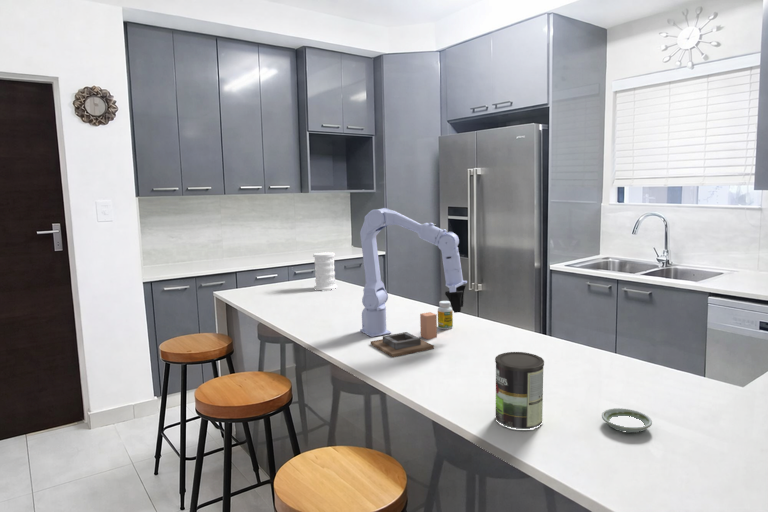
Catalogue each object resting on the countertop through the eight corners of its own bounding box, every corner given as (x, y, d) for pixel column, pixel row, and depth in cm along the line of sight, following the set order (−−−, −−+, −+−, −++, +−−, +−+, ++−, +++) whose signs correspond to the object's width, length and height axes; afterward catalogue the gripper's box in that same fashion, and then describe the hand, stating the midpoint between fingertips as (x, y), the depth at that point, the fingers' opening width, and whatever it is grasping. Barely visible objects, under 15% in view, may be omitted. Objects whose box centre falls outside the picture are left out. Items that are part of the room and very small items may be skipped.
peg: (420, 336, 178) (420, 313, 177) (430, 334, 180) (430, 312, 179) (426, 339, 175) (426, 316, 174) (436, 337, 177) (436, 314, 176)
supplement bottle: (446, 324, 192) (445, 299, 190) (455, 328, 187) (455, 302, 186) (434, 327, 189) (434, 301, 187) (444, 330, 184) (444, 304, 183)
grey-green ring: (636, 416, 115) (637, 406, 115) (661, 438, 105) (661, 426, 105) (593, 418, 115) (593, 408, 114) (614, 440, 105) (614, 429, 105)
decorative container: (311, 290, 259) (309, 255, 257) (318, 286, 270) (316, 252, 268) (333, 291, 257) (332, 255, 255) (339, 286, 269) (338, 251, 266)
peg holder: (370, 344, 171) (370, 335, 171) (409, 336, 178) (409, 328, 178) (392, 357, 158) (392, 347, 158) (433, 348, 165) (433, 339, 164)
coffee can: (503, 433, 109) (503, 369, 107) (489, 411, 119) (489, 352, 117) (551, 430, 110) (552, 366, 108) (533, 409, 120) (533, 350, 118)
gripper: (462, 271, 162) (468, 313, 163) (466, 264, 176) (472, 303, 177) (440, 273, 164) (446, 315, 165) (446, 267, 178) (452, 305, 179)
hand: (458, 309), depth 171 cm, fingers open, 7 cm apart
